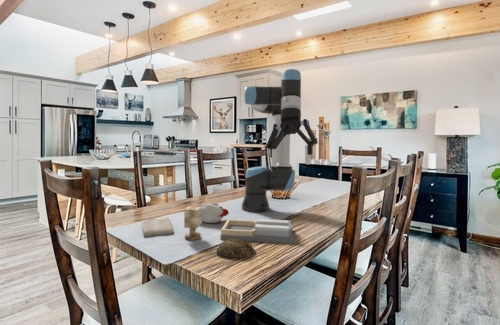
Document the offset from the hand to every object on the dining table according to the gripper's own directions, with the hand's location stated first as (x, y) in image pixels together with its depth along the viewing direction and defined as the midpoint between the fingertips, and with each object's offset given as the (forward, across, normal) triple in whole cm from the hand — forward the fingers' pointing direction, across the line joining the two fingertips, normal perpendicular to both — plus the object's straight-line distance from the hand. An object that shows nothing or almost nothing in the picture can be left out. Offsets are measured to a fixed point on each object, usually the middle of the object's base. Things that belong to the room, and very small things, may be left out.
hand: (290, 165), depth 105 cm
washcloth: (+26, -56, -14) cm, 63 cm away
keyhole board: (+26, -19, +6) cm, 33 cm away
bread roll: (+31, -14, -12) cm, 36 cm away
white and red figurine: (+23, -44, +8) cm, 50 cm away
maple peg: (+28, -36, -12) cm, 47 cm away
